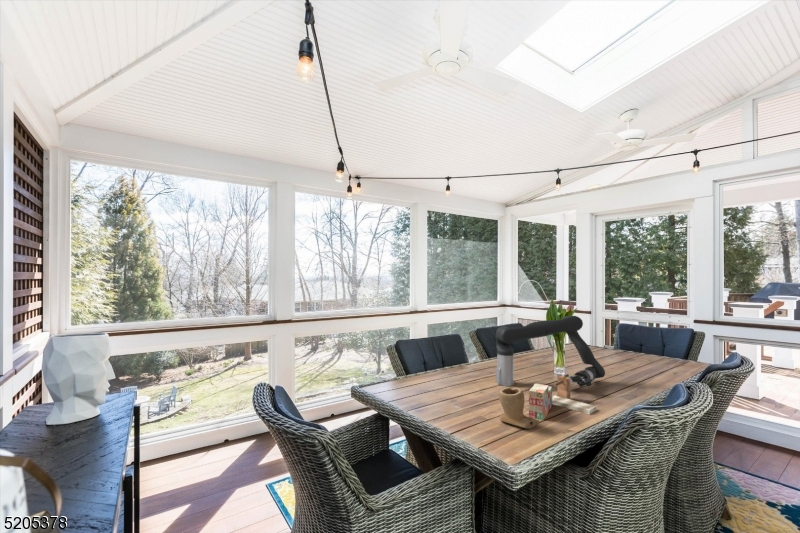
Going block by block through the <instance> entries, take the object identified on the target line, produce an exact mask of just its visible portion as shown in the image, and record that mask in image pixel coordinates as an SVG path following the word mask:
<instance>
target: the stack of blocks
mask: <svg viewBox="0 0 800 533" xmlns="http://www.w3.org/2000/svg"><path fill="white" fill-rule="evenodd" d="M552 396H553V386H551V385H550V386H549V385H547V384H541V383H534V384H533V386H532V387H531V388H530V389H529V390H528V417H530V418H533V419H536V420H540V421H544V419H545V418H546V417H547V415H548V414H549V412H550V410H551V409H552V406H553V404H552Z"/></svg>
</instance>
